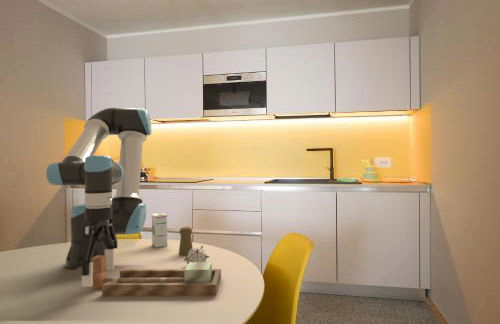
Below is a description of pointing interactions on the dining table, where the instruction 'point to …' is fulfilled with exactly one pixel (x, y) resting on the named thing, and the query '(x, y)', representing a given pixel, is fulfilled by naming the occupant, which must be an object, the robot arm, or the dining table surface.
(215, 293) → the tray
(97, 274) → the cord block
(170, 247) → the dining table surface
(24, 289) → the dining table surface
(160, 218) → the syrup box
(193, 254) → the game die
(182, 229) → the cork
